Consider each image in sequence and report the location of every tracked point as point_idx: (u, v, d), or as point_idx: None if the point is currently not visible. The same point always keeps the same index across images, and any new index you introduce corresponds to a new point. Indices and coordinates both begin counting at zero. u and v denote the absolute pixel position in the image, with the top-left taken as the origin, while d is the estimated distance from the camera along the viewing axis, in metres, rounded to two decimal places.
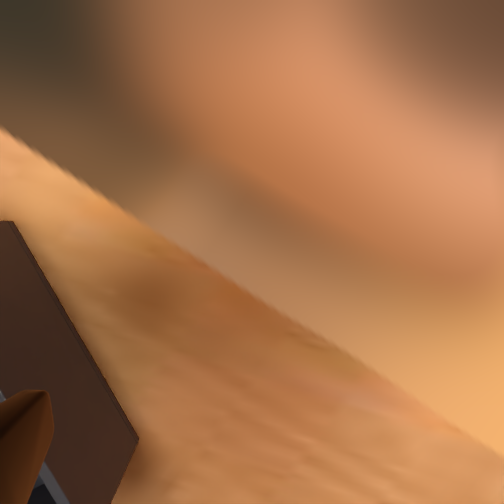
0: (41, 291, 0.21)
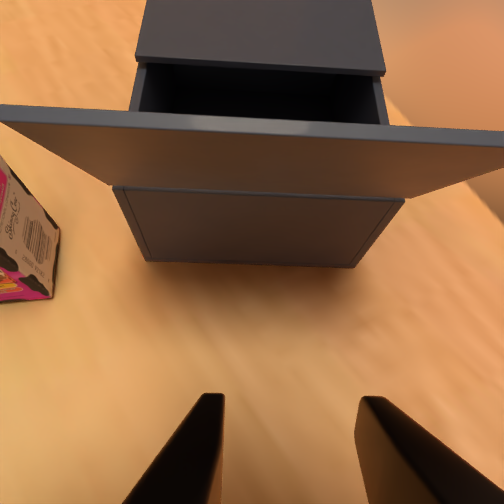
0: None
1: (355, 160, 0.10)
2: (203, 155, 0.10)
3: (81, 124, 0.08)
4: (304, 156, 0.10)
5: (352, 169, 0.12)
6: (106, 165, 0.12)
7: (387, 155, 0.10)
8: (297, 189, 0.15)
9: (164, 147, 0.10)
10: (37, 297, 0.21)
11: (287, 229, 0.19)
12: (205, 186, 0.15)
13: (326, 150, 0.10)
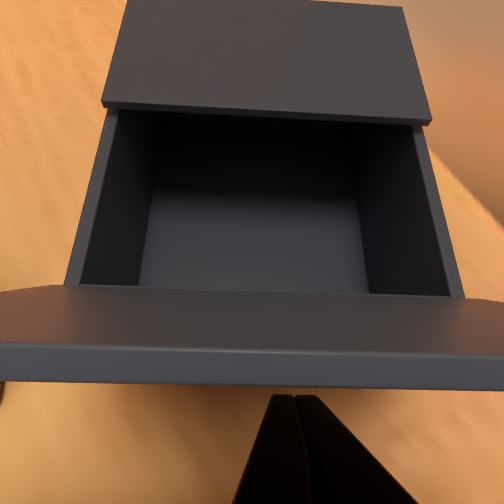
0: None
1: None
2: None
3: None
4: None
5: None
6: None
7: None
8: None
9: None
10: None
11: None
12: None
13: None
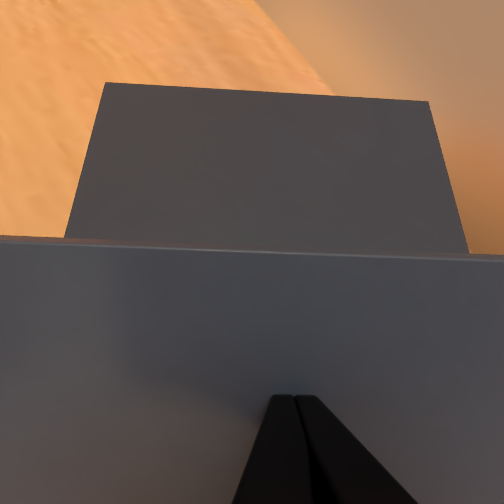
0: None
1: (413, 348, 0.07)
2: (180, 355, 0.07)
3: (22, 242, 0.06)
4: (335, 339, 0.07)
5: (417, 396, 0.07)
6: (6, 434, 0.07)
7: (454, 318, 0.07)
8: None
9: (124, 322, 0.07)
10: None
11: None
12: None
13: (364, 306, 0.07)
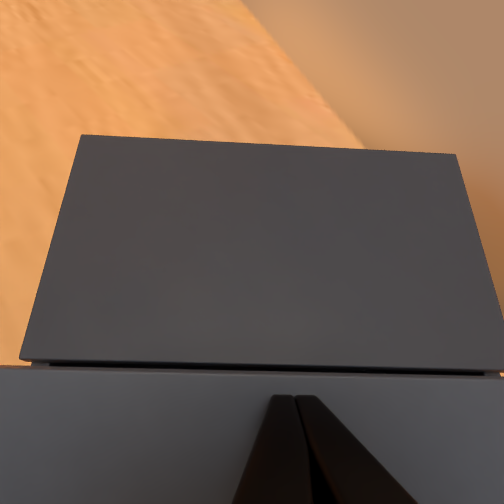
0: None
1: (399, 470, 0.07)
2: (177, 483, 0.07)
3: (49, 370, 0.07)
4: None
5: None
6: None
7: (430, 437, 0.07)
8: None
9: (127, 447, 0.07)
10: None
11: None
12: None
13: (347, 426, 0.07)
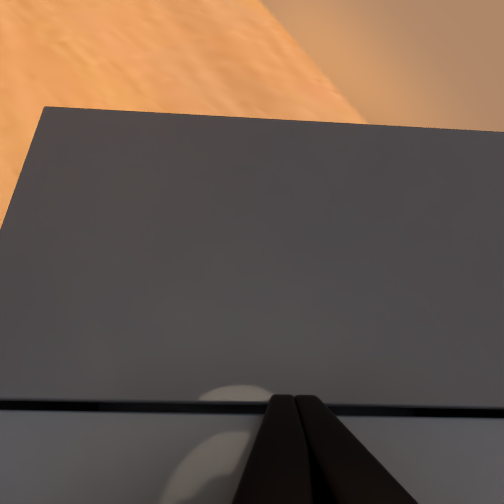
0: None
1: None
2: None
3: (48, 411, 0.07)
4: None
5: None
6: None
7: (439, 482, 0.07)
8: None
9: (119, 495, 0.07)
10: None
11: None
12: None
13: None
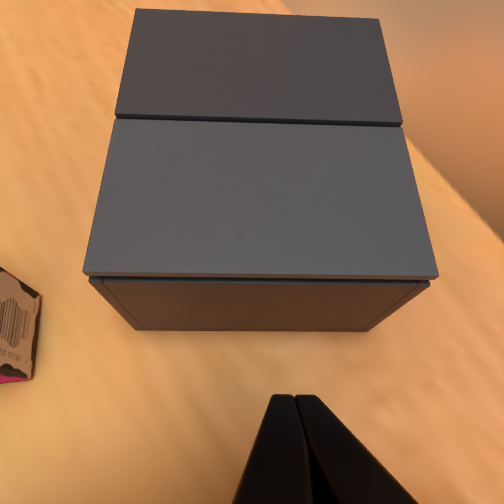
0: None
1: (311, 154, 0.16)
2: (212, 156, 0.16)
3: (155, 120, 0.17)
4: (277, 150, 0.16)
5: (319, 173, 0.16)
6: (128, 189, 0.15)
7: (325, 143, 0.16)
8: (299, 251, 0.14)
9: (189, 144, 0.16)
10: (14, 380, 0.19)
11: (293, 307, 0.17)
12: (199, 254, 0.14)
13: (287, 139, 0.16)
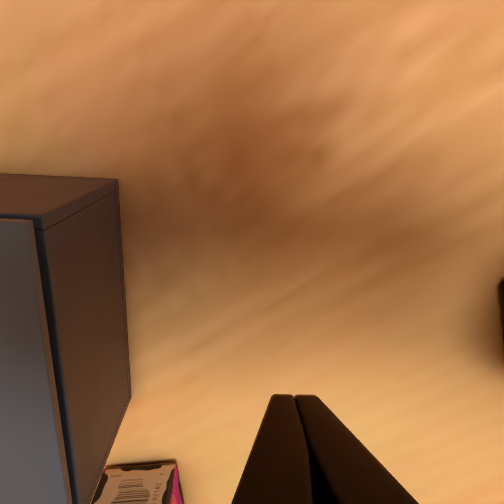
0: None
1: None
2: None
3: None
4: None
5: None
6: None
7: None
8: (19, 375, 0.12)
9: None
10: (176, 474, 0.24)
11: (92, 313, 0.16)
12: (40, 462, 0.13)
13: None
